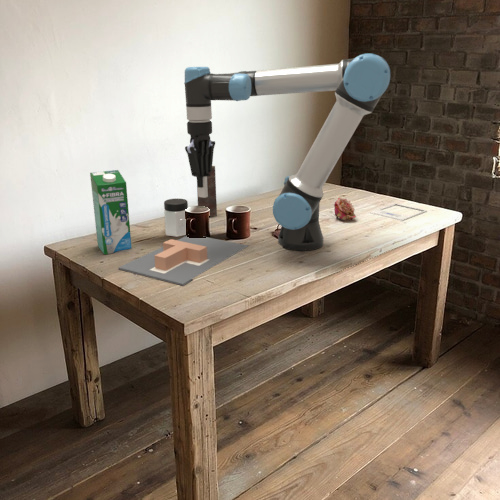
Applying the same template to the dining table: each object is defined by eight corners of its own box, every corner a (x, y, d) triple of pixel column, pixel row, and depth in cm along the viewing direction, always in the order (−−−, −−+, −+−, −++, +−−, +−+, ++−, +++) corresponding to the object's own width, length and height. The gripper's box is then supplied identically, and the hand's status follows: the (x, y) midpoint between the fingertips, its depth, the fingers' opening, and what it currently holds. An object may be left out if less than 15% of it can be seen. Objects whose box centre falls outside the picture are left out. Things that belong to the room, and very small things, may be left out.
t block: (207, 258, 168) (206, 246, 167) (179, 274, 157) (178, 261, 155) (171, 250, 175) (170, 239, 173) (142, 264, 163) (141, 252, 162)
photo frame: (370, 211, 216) (395, 203, 228) (370, 214, 216) (394, 205, 228) (402, 219, 206) (426, 209, 218) (402, 222, 207) (426, 212, 218)
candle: (209, 220, 208) (207, 168, 201) (194, 217, 211) (192, 166, 204) (220, 215, 214) (219, 165, 207) (205, 212, 217) (204, 163, 210)
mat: (249, 247, 179) (249, 245, 179) (183, 285, 150) (183, 283, 150) (190, 235, 191) (190, 233, 191) (118, 269, 162) (118, 267, 162)
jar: (171, 239, 187) (169, 206, 183) (161, 233, 193) (159, 200, 189) (194, 234, 192) (192, 202, 187) (183, 229, 198) (182, 197, 194)
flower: (324, 216, 206) (336, 202, 201) (330, 205, 213) (342, 191, 208) (345, 231, 206) (357, 217, 201) (350, 220, 214) (362, 206, 209)
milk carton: (104, 254, 173) (96, 177, 165) (97, 246, 181) (89, 172, 172) (131, 250, 177) (125, 174, 168) (124, 242, 185) (118, 169, 176)
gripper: (201, 117, 171) (205, 191, 179) (176, 122, 160) (180, 200, 168) (221, 118, 167) (224, 193, 175) (196, 123, 156) (200, 203, 165)
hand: (203, 196), depth 172 cm, fingers closed
